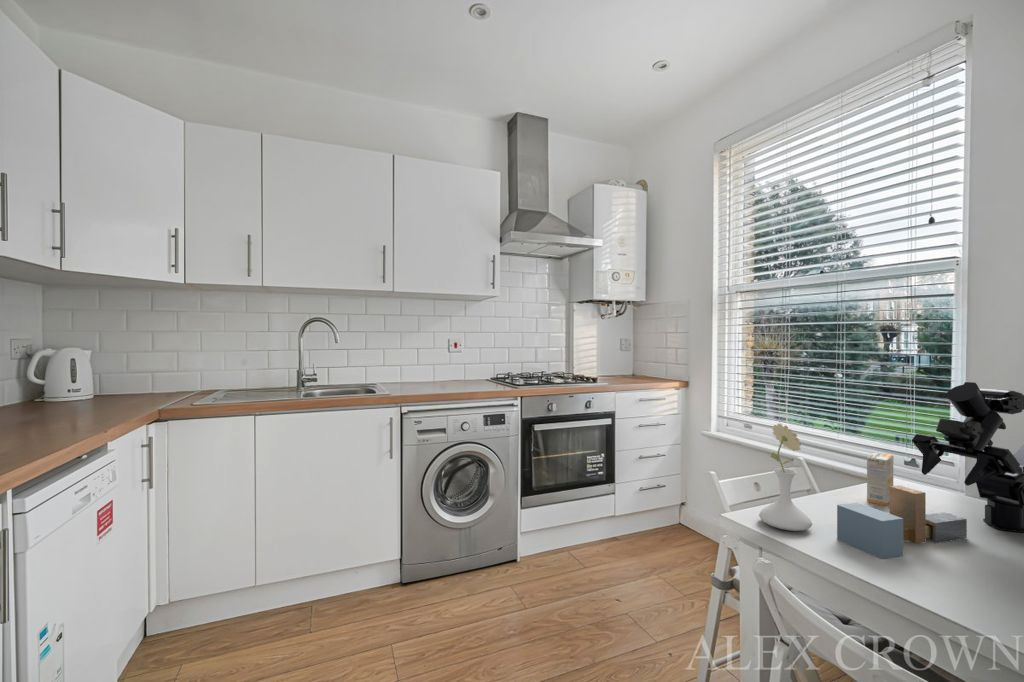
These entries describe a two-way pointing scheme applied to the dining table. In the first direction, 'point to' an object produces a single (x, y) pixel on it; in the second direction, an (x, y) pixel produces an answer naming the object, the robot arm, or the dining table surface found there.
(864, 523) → the blue-grey rectangular block
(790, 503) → the flower in vase
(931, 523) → the outer sleeve
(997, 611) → the dining table surface
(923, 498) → the upright wooden plank
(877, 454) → the supplement box
